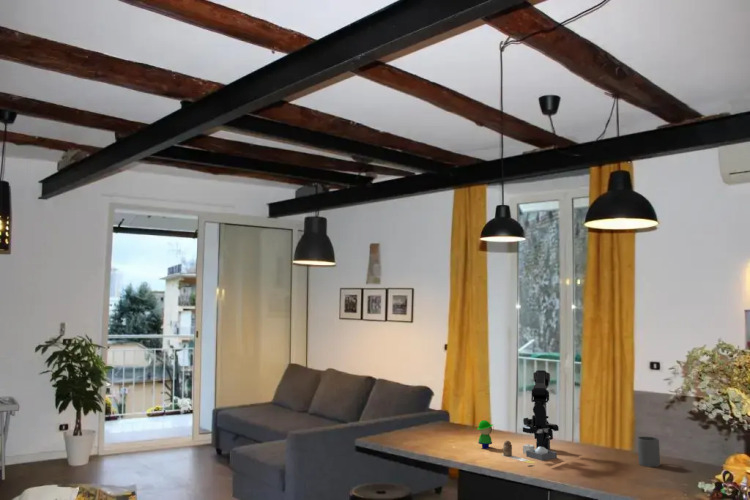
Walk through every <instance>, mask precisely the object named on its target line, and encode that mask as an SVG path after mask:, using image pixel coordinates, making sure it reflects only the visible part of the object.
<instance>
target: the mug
mask: <svg viewBox="0 0 750 500" xmlns="http://www.w3.org/2000/svg"><path fill="white" fill-rule="evenodd" d="M659 440H660V439H659V438H657V437H653V436H638V437H637V452H638V455H637V456H638V465H640V466H643V467H647V468H658V467H660V465H661V456H660V455H661V454H660V441H659Z"/></svg>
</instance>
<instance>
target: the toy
mask: <svg viewBox="0 0 750 500" xmlns="http://www.w3.org/2000/svg"><path fill="white" fill-rule="evenodd" d="M492 427H493V428H492ZM494 428H495V427H494V424H491V423H490V422H489V421H488V420H481V421H480V422H479V424H478V427H477V428H476V430H479V432H480V435H479V438H478V442H477V443H478V444H480V445H481V448H482V449H484V450H488V449H489V448H490V445H492V444H493V441H492V437H491V433H492V432H494Z"/></svg>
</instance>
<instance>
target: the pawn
mask: <svg viewBox="0 0 750 500" xmlns="http://www.w3.org/2000/svg"><path fill="white" fill-rule="evenodd" d="M512 447H513V445H512V443H511V441H509V440H505V441H504V443H503V448H502V450H503V453H502V455H504V456H503V457H505V456H511V457H513V456H512V455H513V448H512Z"/></svg>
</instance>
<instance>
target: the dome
mask: <svg viewBox="0 0 750 500" xmlns="http://www.w3.org/2000/svg"><path fill="white" fill-rule="evenodd" d="M534 450H535V452H537V453H541V454H543V453H548V450H547V449H546V448H544V447H538V448H537V449H536V448H534Z"/></svg>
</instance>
